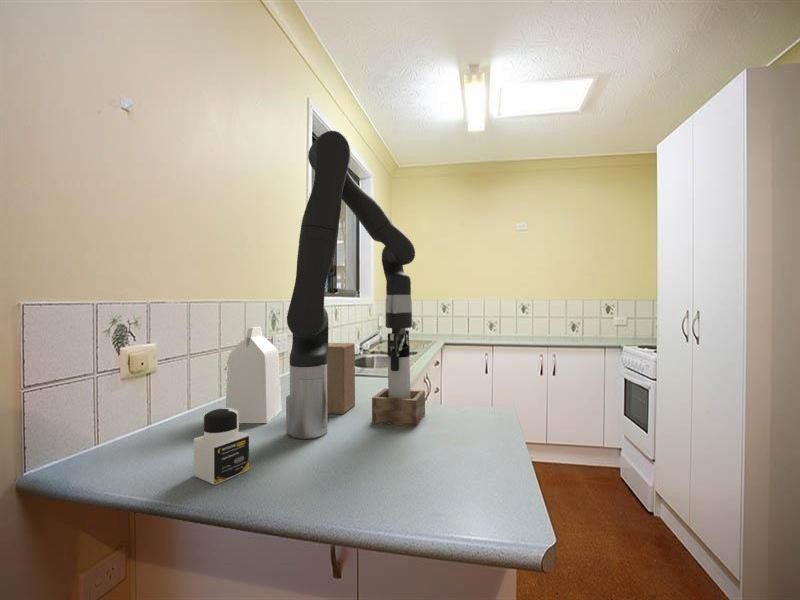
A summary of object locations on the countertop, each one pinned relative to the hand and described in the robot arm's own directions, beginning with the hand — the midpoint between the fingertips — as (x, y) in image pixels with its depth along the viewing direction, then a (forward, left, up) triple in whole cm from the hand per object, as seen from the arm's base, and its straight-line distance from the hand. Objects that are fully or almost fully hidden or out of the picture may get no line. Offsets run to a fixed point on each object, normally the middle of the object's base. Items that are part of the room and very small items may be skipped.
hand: (399, 368), depth 103 cm
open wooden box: (0, 0, -14) cm, 14 cm away
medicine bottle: (-24, -41, -14) cm, 50 cm away
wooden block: (-22, +4, -14) cm, 27 cm away
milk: (-41, -9, -14) cm, 44 cm away
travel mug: (0, 0, -14) cm, 14 cm away
